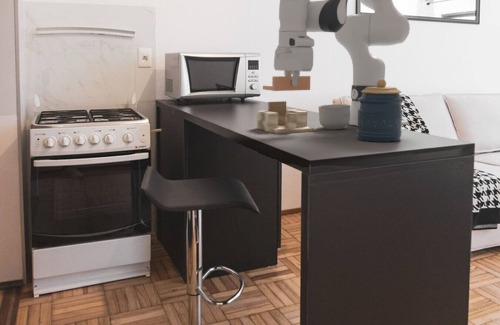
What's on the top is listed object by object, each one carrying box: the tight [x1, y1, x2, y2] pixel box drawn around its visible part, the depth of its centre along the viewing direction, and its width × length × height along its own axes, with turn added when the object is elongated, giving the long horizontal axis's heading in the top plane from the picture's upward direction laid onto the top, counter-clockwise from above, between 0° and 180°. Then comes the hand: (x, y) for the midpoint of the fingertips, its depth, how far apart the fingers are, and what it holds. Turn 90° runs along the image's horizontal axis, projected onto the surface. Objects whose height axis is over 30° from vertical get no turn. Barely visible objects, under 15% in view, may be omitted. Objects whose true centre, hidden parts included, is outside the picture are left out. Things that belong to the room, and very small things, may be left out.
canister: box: [356, 79, 404, 143], centre depth 144 cm, size 13×13×18 cm
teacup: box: [317, 103, 351, 130], centre depth 170 cm, size 14×11×8 cm
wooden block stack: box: [256, 100, 314, 134], centre depth 165 cm, size 14×15×9 cm
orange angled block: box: [262, 75, 311, 92], centre depth 162 cm, size 10×13×4 cm
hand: (291, 85), depth 159 cm, fingers closed on orange angled block, 2 cm apart
